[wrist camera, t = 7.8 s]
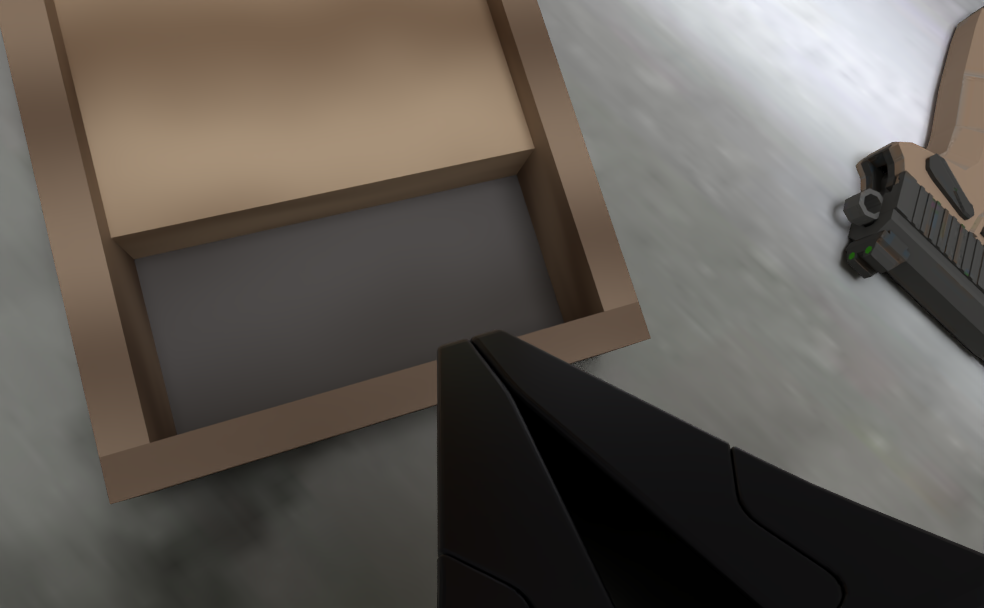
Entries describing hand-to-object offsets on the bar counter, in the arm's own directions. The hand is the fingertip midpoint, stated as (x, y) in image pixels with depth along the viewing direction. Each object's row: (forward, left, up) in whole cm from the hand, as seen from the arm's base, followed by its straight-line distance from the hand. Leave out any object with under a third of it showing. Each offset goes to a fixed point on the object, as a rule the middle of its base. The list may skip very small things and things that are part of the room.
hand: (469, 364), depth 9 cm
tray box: (+10, +10, -11) cm, 18 cm away
